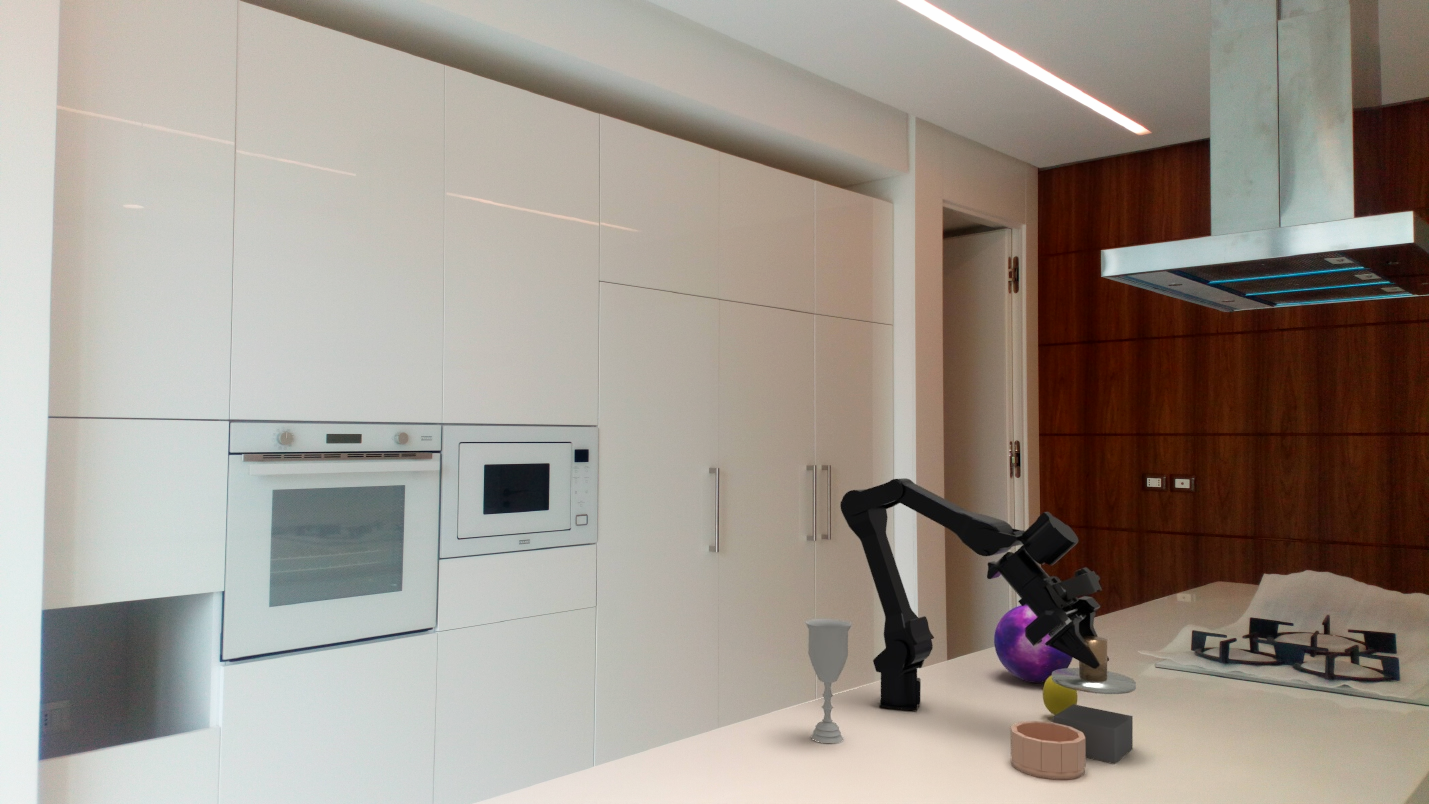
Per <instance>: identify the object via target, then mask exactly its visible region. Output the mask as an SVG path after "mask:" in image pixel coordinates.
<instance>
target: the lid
mask: <svg viewBox="0 0 1429 804" xmlns="http://www.w3.org/2000/svg"><path fill="white" fill-rule="evenodd" d="M1082 638H1083V639H1084V641H1085V642H1086V644H1087V645H1088V646H1089V648H1090V649H1091V651H1092V652H1093V654H1094V655H1095V657H1096V658H1097V660H1098V661H1099V663H1100V666H1099V667H1097V668H1096V669H1094V668H1092V667H1090V666H1088V665H1086V664H1084V663H1082V662H1080V661H1078V665H1079V666H1078V667H1068V668H1064V669H1058V670H1055V671H1053V672H1052V681H1053V682H1055V683H1056V684H1058V685H1061V686H1063V687H1066V688H1070V689H1074V690H1077V692H1078V691H1079V692H1086V693H1092V694H1101V695H1102V694H1104V695H1121V694H1124V695H1125V694H1129V693H1132V692H1135V691H1136V689H1137V687H1136V686H1137V682H1136V681H1135V679H1133V678H1131V677H1130V676H1127V675H1125V674H1121V673H1118V672H1114V671H1109V670H1108V662H1107V656H1108V639H1107V638H1105V637H1103V636H1098V637H1096V636H1082Z"/></svg>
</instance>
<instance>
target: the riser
mask: <svg viewBox="0 0 1429 804" xmlns="http://www.w3.org/2000/svg"><path fill="white" fill-rule="evenodd" d="M1052 722H1053V723H1058V724H1062V725H1066V726H1070V727H1073V728H1075V729H1077V730H1079V731H1081V732H1083V734H1084V736H1085V758H1087V759H1092V760H1096V761H1101V762H1105V763H1110V764H1114V765H1115V764H1116V763H1118V762H1119V761H1120V760H1121V759H1123V758H1124V756H1126V755H1127V754H1128V753H1129V752H1130V751H1132V750H1133V749H1134V747H1133V743H1134V742H1133V741H1134V740H1133V730H1134V729H1133V727H1134V725H1133V722H1134V721H1133V715H1129V714H1123V713H1118V712H1116V711H1115V712H1114V711H1109V710H1105V709H1099V708H1095V707H1088V706H1084V705H1079V704H1077V705H1075V704H1073V705H1071V706H1070V707H1068V708H1066V709H1065V710H1063V711H1062V712H1060V713H1058V714H1057V715H1054V716H1052Z"/></svg>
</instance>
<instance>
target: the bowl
mask: <svg viewBox="0 0 1429 804" xmlns="http://www.w3.org/2000/svg"><path fill="white" fill-rule="evenodd" d="M1010 757H1011V758H1010V763H1011V765H1012V767H1013V768H1014V769H1016V770H1018V771H1019V772H1021V773H1023V774H1026V775H1029V776H1033V777H1038V778H1042V779H1047V780H1048V779H1049V780H1073V779H1078V778H1081V777H1083V775H1084V774H1085V768H1086V757H1085V736H1084V734H1083V732H1081V731H1079V730H1077V729H1075V728H1073V727H1070V726H1066V725H1062V724H1058V723H1053V721H1041V720H1029V721H1028V720H1027V721H1018V722H1016V723H1014V724H1012V725H1010Z"/></svg>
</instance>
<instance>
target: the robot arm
mask: <svg viewBox="0 0 1429 804" xmlns="http://www.w3.org/2000/svg"><path fill="white" fill-rule="evenodd" d="M899 504H902V505H903V506H905V507H907V508H909V509H911V510H913V511H914V512H916V513H918V514H920V515H922V516H923V517H926V518H928V519H930V521H934V522H935V523H936V524H938V525H940V526H942V527H944V528H946V529H948V530H950V531H951V532H953V534H955V535H956V536H957V537H958V539H959V540H960V541H961V543H963V545H965V546H966V547H968V548H969V549H970V550H972V551H973V552H974V553H975V554H977V555H979V556H982V557H990V556H991V557H992V556H997V555H1000V554H1003V555H1002V557H1000V558H999V559H998V560H997V561H990V562H987V572H986V573H987V574H986V578H987V580H992V579H995V578H996V579H998V578H999V577H1000V576H1001V577H1002V578H1003V579H1004V580H1005V581H1006V583H1007V584H1008V586H1010V587H1011V588H1012V589H1013V590H1014V591H1015V593H1016V594H1017V595H1018V597H1019V598H1020V599H1019V600H1018V603H1019V605H1020V606H1021V605H1022V606H1025V605H1027V606H1028V607H1029V608H1030V609H1031V610H1032V612H1033V613H1034V614H1035V615H1036V616H1037V618H1036V619H1035V620H1034V621H1032V622H1031V623H1030V624H1029V625H1028V626H1027V627H1025V637H1026V638H1027V639H1028V640H1029V641H1030V643H1031V644H1032V645H1033V646H1035V645H1037V644H1040V643H1041V642H1042V638H1044V637H1045V636H1046V635H1047V634H1048V636H1049V637H1050V638H1051V639H1049V640H1048V641H1047V642H1046V643H1045V645H1046V646H1050V647H1052V648H1054V649H1057V650H1059V651H1061V652H1063V653H1065V654H1067V655H1069V656H1071V657H1073V658H1072V659H1075V660H1076V661H1078V662H1079V661H1080V662H1082V663H1084V664H1086V665H1088V666H1090V667H1092V668H1094V669H1096V668H1097V667H1099V666H1100V663H1099V661H1098V660H1097V658H1096V657H1095V655H1094V654H1093V652H1092V651H1091V649H1090V648H1089V646H1088V645H1087V644H1086V642H1085V641H1084V639H1083V638H1082V636H1096V637H1099V636H1098V634H1097V632H1096V629H1095V627H1094V622H1095V617H1096V611H1098V609H1100V608H1101V605H1100V604H1099V602H1098V601H1096V599H1095V598H1094V597H1093V596H1089V595H1092V594H1095V593H1097V592H1100V591H1103V589H1102V586H1101V585H1100V583H1099V581H1100V580H1101V578H1100V575H1098V574H1097V573H1096V572H1095V570H1093V571H1091V570H1090V569H1089V568H1088V567H1083V568H1080V569H1077V570H1075V571H1074V577H1071V578H1068V579H1066V580H1063V581H1062V580H1061V579H1060V578H1059V577H1058V576H1055V575H1053V576H1049V574H1048V573H1047V572H1046V571H1045V570H1044V569H1043V568H1042V565H1043V566H1044V565H1045V564H1046V565H1049V566H1054V565H1055V564H1056V563H1057V562H1058V561H1059V560H1060V559H1062V558H1063V557H1064V556H1065V555H1066V554H1067V553H1068V552H1069V551H1070V550H1072V549H1073V548H1074V547H1075V546H1076V545H1077V544H1078V543H1079V537H1078V536H1077V534H1076V533H1075V531H1073V529H1072V528H1071V527H1070V526H1069V525H1068V524H1065V523H1064V522H1063V521H1061V520H1060V519H1059V518H1057V517H1055V516H1054V515H1052V513H1050V512H1049V511H1044V512H1042V513H1041V514H1040V515H1039V516H1038V517H1037V519H1036V520H1035V521H1034V522H1033V523H1032V524H1031V525H1030V526H1029V527H1028V528H1027V529H1026V530H1021V529H1017V528H1013V527H1012V525H1010V523H1008V522H1007V521H1005V520H1002V519H999V518H996V517H993V516H990V515H986V514H982V513H977V512H973V511H969V510H967V509H964V508H963V507H961V506H959V505H957V504H956V503H953V502H952V501H949V500H947V499H945V498H943V497H942V496H940V495H937V494H936V493H934V492H932V491H930V490H928V489H926V488H924V487H922V486H920V485H918V484H916V483H915V482H913V481H912V480H911V479H909V478H892V479H891V480H889V481H888V482H887V481H886V482H885V483H882V484H879V485H876V486H872V487H869V488H866V489H863V488H862V489H852V490H849V491H847V492H846V493H845V494H844V495H843V497H842V499H841V501H840V506H839V507H840V512H841V514H842V515H843V518H844V520H845V522H846V523H847V525H848V527H849V529H850V530H851V531H852V532H853V534H855V536H856V537H857V538H858V539H859V541H860V542H861V546H862V549H863V552H864V555H865V559H866V561H867V565H868V568H869V570H870V571H869V572H870V574H871V577H872V580H873V583H874V586H875V589H876V592H877V595H878V598H879V602H880V604H881V608H882V611H883V614H884V619H885V620H884V625H883V626H884V627H883V640H884V645H885V648H884V649H883V650H882V651H881V652H880V653H878V655H877V656H875V657H874V658H873V660H872V662H873V666H874V669H875V672H877V673H880V700H879V703H878V706H879V708H882V709H892V710H893V709H894V710H902V711H903V710H904V711H914V712H915V711H916V712H917V710H918V706H920V705H921V692H922V691H921V687H922V686H921V683H922V682H921V680H922V679H921V678H920V677H918V669H921V668H922V667H923V665H924V662H925V660H926V659H927V658H928V657H930V655H931V652H932V651H933V645H934V644H933V641H932V640H934V639H935V637H934V635H933V633H932V632H931V630H930V626H929V621H928V619H927V616H926V615H924V616H921V617H918V616H917V614H916V613H915V612H914V611H913V609H912V607H911V605H910V602H909V598H908V596H907V593H906V590H905V587H904V584H903V580H902V577H901V575H900V572H899V571H900V570H899V569H898V566H897V562H896V559H895V557H894V554H893V551H892V547H891V544H890V541H889V539H888V535H887V525H888V512H887V510H888V509H891V508H893V507H895V506H897V505H899ZM1018 546H1019V548H1018V549H1017V550H1016V551H1015V552H1012V551H1010V550H1011V549H1012V548H1013V547H1018ZM1040 565H1041V566H1040ZM1078 597H1079V598H1078ZM1109 661H1110V658H1109V656H1108V655H1107V663H1108V662H1109Z"/></svg>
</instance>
